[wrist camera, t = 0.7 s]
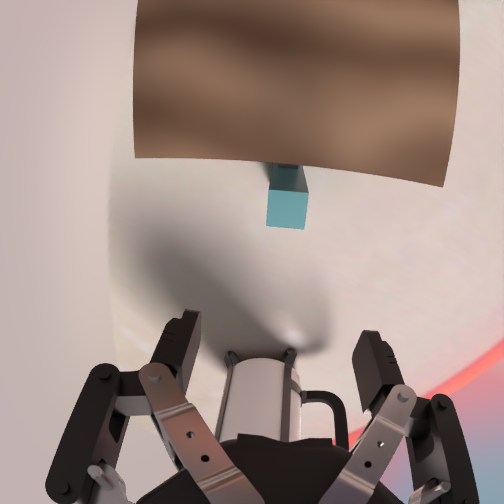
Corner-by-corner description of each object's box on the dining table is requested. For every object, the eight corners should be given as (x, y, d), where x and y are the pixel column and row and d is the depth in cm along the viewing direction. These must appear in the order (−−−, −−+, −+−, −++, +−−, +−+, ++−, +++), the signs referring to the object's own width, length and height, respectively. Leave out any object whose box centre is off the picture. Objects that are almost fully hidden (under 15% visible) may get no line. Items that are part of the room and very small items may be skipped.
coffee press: (272, 406, 53) (257, 551, 27) (203, 368, 49) (159, 531, 23) (343, 365, 45) (356, 544, 19) (270, 316, 42) (245, 541, 15)
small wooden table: (202, -5, 23) (147, -58, 10) (391, 12, 21) (454, -29, 9) (196, 130, 30) (135, 158, 18) (381, 147, 29) (442, 187, 16)
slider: (238, 8, 23) (217, -26, 14) (355, 19, 22) (384, -10, 13) (230, 185, 33) (209, 221, 24) (339, 195, 32) (358, 235, 23)
